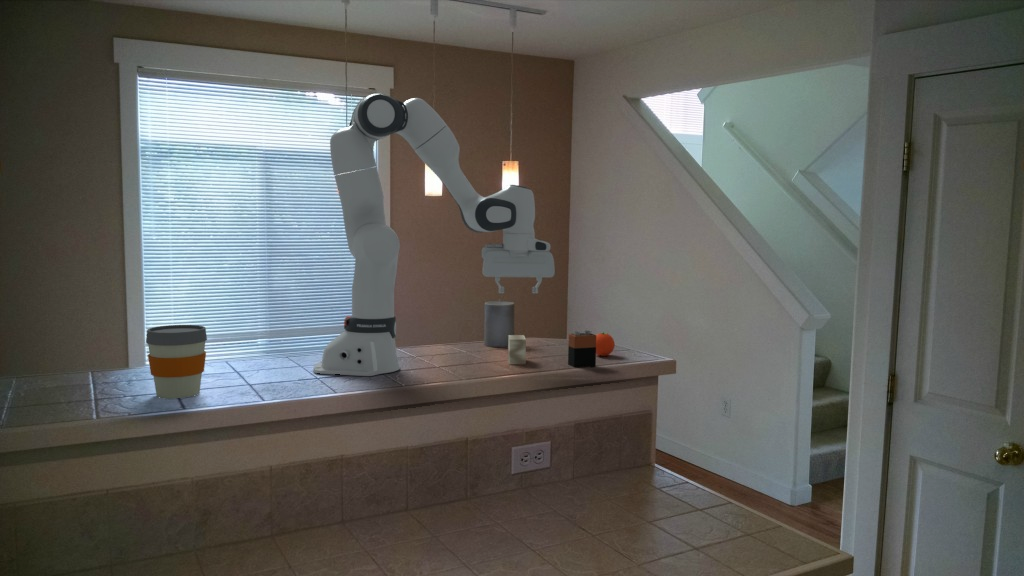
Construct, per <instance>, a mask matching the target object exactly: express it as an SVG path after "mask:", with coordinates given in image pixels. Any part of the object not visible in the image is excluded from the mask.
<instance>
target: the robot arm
mask: <svg viewBox="0 0 1024 576" xmlns="http://www.w3.org/2000/svg"><path fill="white" fill-rule="evenodd" d="M393 134H395V135H396V134H397V135H400V136H401V137H402V138H403V139H404V140H405V141H407V143H408V144H409V146H410V147H411V148H412V150H413V151H414V152H415V153H416V155H417V156H418V157H419V159H420V160H421V161H422V162H423V163H424V164H425V165H426V166H427V167H428V168H429V169H430V170H431V171H432V172H433V174H435V175H436V176H437V178H439V180H440V181H441V183H442V184H443V186H444V187H445V189H446V190H447V191H448V193H449V194H450V196H451V198H453V199H454V201H455V202H456V204H457V207H458V209H459V212H460V216H461V220H462V222H463V224H464V225H465V227H466V228H467V229H468V230H469V231H471V232H473V233H479V234H481V233H493V232H497V231H501V230H502V243H486V244H485V245H483V247H482V249H481V258H482V259H483V263H482V275H483V276H484V277H486V278H494V282H495V283H496V285H497V287H498V294H505V286H502V285H501V283H500V281H501V278H536V282H537V283H536V284H535V286H532V287H531V290H532V291H531V293H532V294H539V287H540V285H541V284H542V282H543V278H553V277H554V276H555V273H556V272H555V271H556V270H555V267H556V266H555V259H554V256H553V254H552V252H550V250H551V244H550V243H549V242H548V241H544V240H542V239H540V238H538V239H537V238H536V237H535V236H536V232H535V229H534V228H535V227H534V223H535V219H536V205H535V196H534V192H533V190H531V189H530V188H529V187H526V186H522V185H516V184H509V185H506V186H505V187H504V188H503V189H501V190H499V191H497V192H495V193H493V194H490V195H488V196H482V195H481V194H480V193H478V192H477V191H476V190H475V188H474V187H473V185H472V184H471V182H470V181H469V180H468V178H467V177H466V175H465V174H464V172H463V170H462V169H461V167H460V161H459V158H460V157H459V156H460V144H459V142H458V139H457V138H456V136H455V134H454V132H453V131H452V129H451V127H449V126H448V125H447V123H446V122H445V121H444V120H443V118H442V117H441V116H440V114H439V113H438V112H437V111H435V109H434V108H433V107H432V106H431V105H429V104H428V102H427V101H425V100H424V99H422V98H419V97H413V98H410V99H407V100H405V101H404V102H402V101H400V100H398V99H395V98H393V97H392V96H389V95H387V94H383V93H378V92H377V93H372V94H369V95H367V96H366V97H363V98H362V99H361V100H360V101H358V103H357V104H356V106H355V107H354V110H353V112H352V114H351V118H350V122H349V126H347V127H343V128H340V129H338V130H337V131H335V132H334V133H333V134H332V135H331V137H330V140H329V149H330V157H331V165H332V171H333V175H334V180H335V183H336V184H335V185H336V188H337V191H338V196H339V199H340V204H341V211H342V217H343V224H344V229H345V235H346V241H347V246H348V249H349V252H350V254H351V255H352V257H353V258H354V259H355V261H354V262H355V263H354V273H353V282H352V286H351V315H348V316H346V317H345V318H344V321H343V329H344V331H343V332H341V333H340V334H339V335H337V336H336V337H335V338H334V339H332V340H331V341H330V342H329V343H328V344H326V346H325V347H324V349H323V352H322V358H321V361H319V362H317V363H316V364H315V365H314V366H313V370H312V371H313V373H315V374H317V373H320V374H321V375H335V374H340V376H358V377H359V376H361V377H372V376H377V375H381V374H388V373H393V372H396V371H399V370H400V369H401V366H400V363H399V359H398V354H397V346H396V335H397V321H396V320H397V319H396V316H395V286H396V285H395V283H396V278H397V277H396V276H397V271H398V263H399V262H398V261H399V252H400V248H401V243H400V239H399V236H398V235H397V233H396V231H395V230H394V229H393V228H392V227H390V226H389V225H387V224H386V223H387V222H386V216H385V206H384V198H385V197H384V192H383V187H382V182H381V181H380V180H381V179H380V175H379V171H378V168H377V162H376V159H375V156H374V155H375V153H374V152H375V151H374V146H375V143H376V142H377V141H379V140H381V139H385V138H387V137H389V136H391V135H393Z"/></svg>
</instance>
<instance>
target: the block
mask: <svg viewBox="0 0 1024 576" xmlns="http://www.w3.org/2000/svg"><path fill="white" fill-rule="evenodd" d="M507 349H508V351H507V353H508V354H507V361H508V364H509V365H526V358H527V357H526V355H527V352H526V351H527V350H526V349H527V338H526V336H525V335H524V334H514V335H508V347H507Z"/></svg>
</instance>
